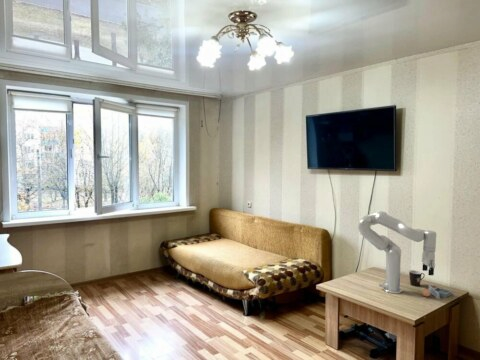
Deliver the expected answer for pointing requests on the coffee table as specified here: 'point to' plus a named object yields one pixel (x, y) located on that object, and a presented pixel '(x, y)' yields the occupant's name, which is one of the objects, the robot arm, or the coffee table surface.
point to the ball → (426, 292)
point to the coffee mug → (415, 277)
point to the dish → (443, 292)
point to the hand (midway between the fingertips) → (427, 272)
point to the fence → (434, 292)
